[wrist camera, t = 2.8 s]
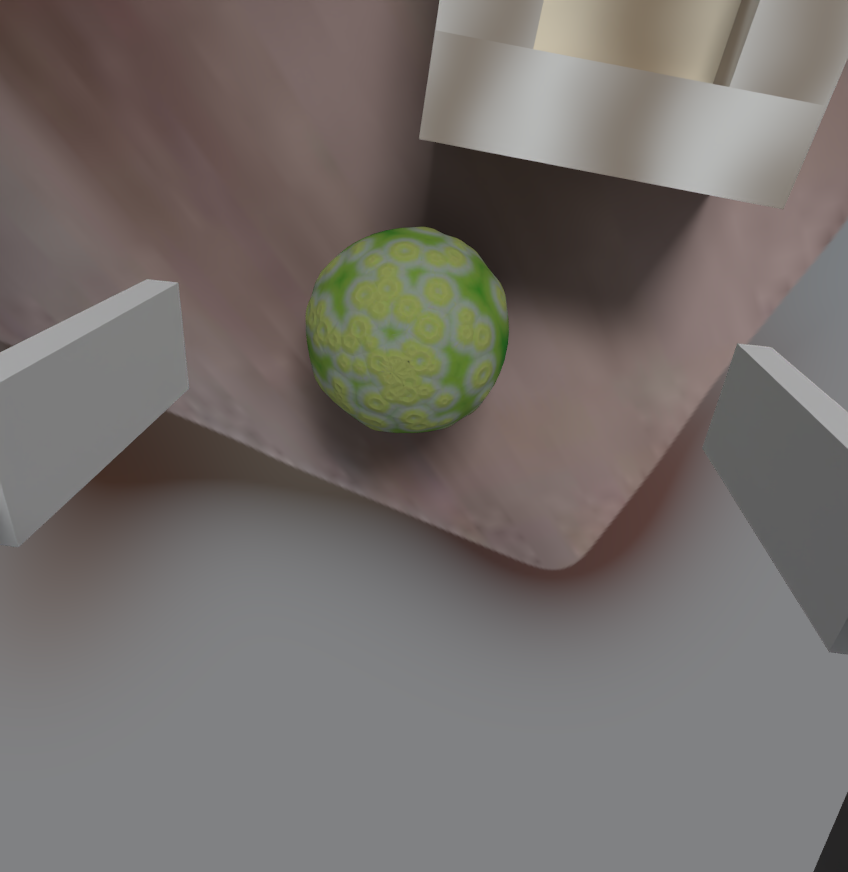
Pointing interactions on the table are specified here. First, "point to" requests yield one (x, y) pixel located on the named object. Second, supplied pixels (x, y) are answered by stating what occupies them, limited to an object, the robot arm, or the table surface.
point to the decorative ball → (407, 330)
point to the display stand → (641, 87)
